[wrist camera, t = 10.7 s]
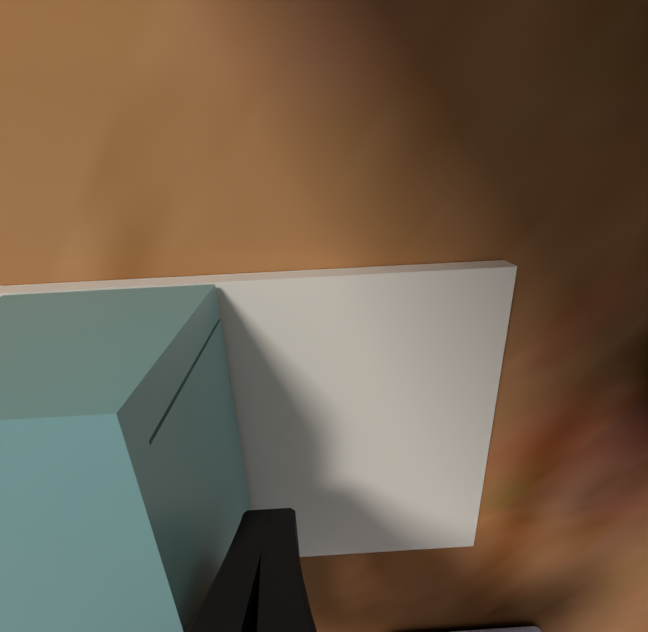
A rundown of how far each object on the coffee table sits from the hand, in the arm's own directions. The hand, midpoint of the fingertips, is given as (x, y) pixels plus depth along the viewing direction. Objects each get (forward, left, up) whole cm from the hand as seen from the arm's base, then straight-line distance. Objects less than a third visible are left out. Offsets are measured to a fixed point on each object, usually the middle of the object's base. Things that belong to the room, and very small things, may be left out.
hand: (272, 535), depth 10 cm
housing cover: (0, +4, -4) cm, 6 cm away
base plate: (0, +1, -4) cm, 5 cm away
